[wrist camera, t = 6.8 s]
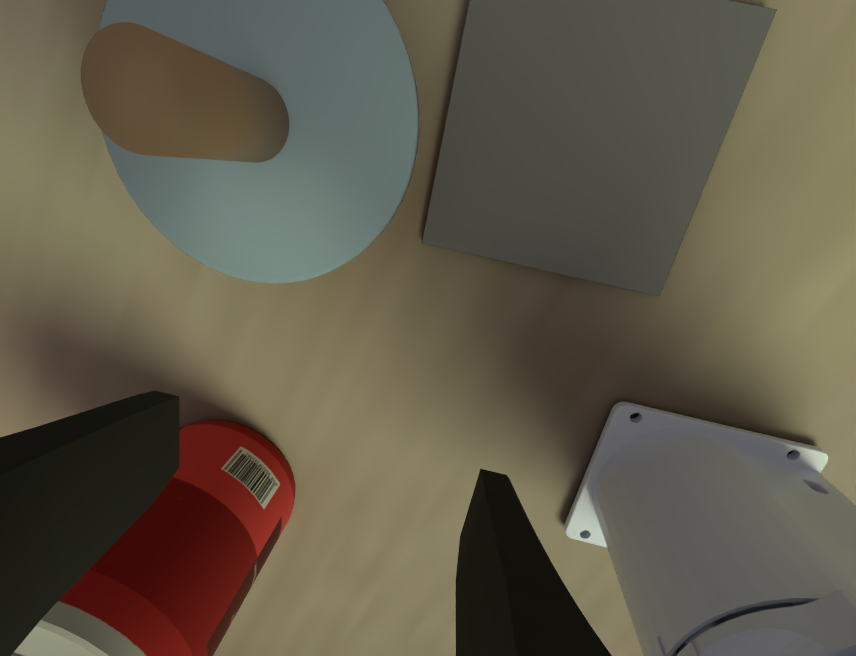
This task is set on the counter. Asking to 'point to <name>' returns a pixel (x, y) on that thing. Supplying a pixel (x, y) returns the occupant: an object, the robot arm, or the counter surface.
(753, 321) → the counter surface
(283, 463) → the canned food
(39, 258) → the counter surface
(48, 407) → the counter surface
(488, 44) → the mat
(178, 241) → the lid
